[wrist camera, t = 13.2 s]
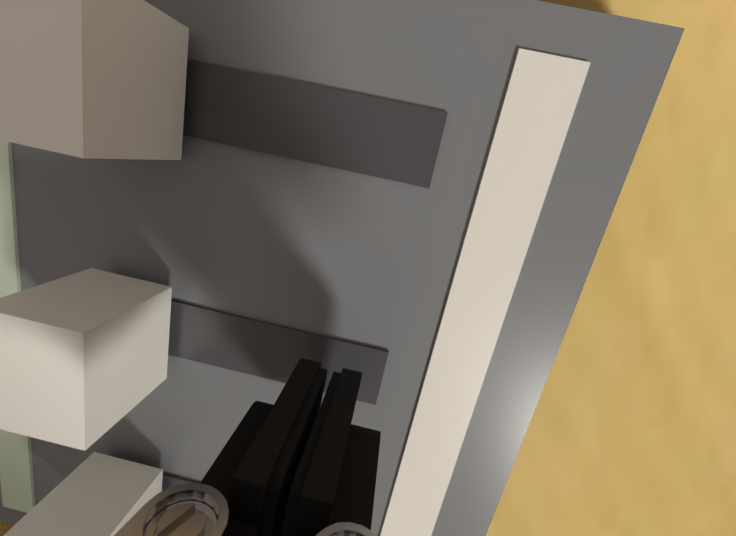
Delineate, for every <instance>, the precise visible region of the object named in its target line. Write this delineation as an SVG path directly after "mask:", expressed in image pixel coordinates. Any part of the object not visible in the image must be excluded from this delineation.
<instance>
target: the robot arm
mask: <svg viewBox="0 0 736 536" xmlns="http://www.w3.org/2000/svg"><path fill="white" fill-rule="evenodd" d="M326 377H327V370H326V369H322V368H321V362H317V361H313V360H309V359H304V358H300V360H299V361H298V363H297V365H296V367H295V368H294V370H293V372H292V374H291V375H290V377H289V379H288V381H287V382H286V384H285V386H284V388H283V389H282V391H281V393H280V395H279V396H278V398H277V400H276V402H275V403H274V405H273V404H269V403H265V402H260V401H255V402H254V403H253V404H252V405H251V407H250V408H249V410H248V411H247V413H246V414H245V416H244V417H243V419H242V420H241V422H240V424H239V425H238V427H237V428H236V430H235V431H234V433H233V434H232V436H231V437H230V439H229V440H228V442H227V443H226V445H225V446H224V448H223V449H222V451H221V452H220V454H219V455H218V457H217V458H216V460H215V461H214V463H213V464H212V466H211V467H210V469H209V470H208V472H207V473H206V475H205V476H204V478H203V479H202V481H201V482H200V483H184V484H180V485H176V486H172V487H170V488H168V489H166V490H164V491H162V492H160V493H158V494H157V495H155V496H154V497H153V498H152V499H150V500H149V501H148V502H147V503H145V504H144V505H143V507H142V508H141V509H140V510H139V511H138V512H137V513H136V514H135V515H134V516H133V517H132V518H131V519H130V520H129V521H128V522H127V523H126V524H125V525H124V526H123V527H122V528H121V529H120V530H119V531H118V532H117V533H116V534H115V535H114V536H377V535H376V534H375V533H374V532H373V531H371V524H372V514H373V505H374V495H375V486H376V476H377V467H378V457H379V447H380V438H381V431H377V430H373V429H369V428H365V427H361V426H357V425H353V424H351V422H352V418H353V413H354V409H355V404H356V400H357V395H358V391H359V387H360V382H361V378H362V372H358V371H354V370H350V369H346V368H343V369H342V372H341V373H338V372H333V374H332V377H331V379H330V382H329V385H328V388H327V390H326V393H325V396H324V398H323V401H322V397H323V392H324V387H325V382H326ZM321 402H322V404H321Z"/></svg>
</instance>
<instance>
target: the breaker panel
mask: <svg viewBox="0 0 736 536" xmlns="http://www.w3.org/2000/svg"><path fill="white" fill-rule="evenodd" d="M683 31H684V28H679V27H674V26H669V25H664V24H659V23H653V22H648V21H643V20H638V19H633V18H627V17H622V16H617V15H612V14H607V13H601V12H596V11H591V10H586V9H581V8H575V7H570V6H565V5H560V4H555V3H550V2H544V1H539V0H0V298H1V297H4V296H7V295H11V294H14V293H17V292H20V291H23V290H26V289H29V288H32V287H35V286H38V285H41V284H44V283H47V282H50V281H53V280H56V279H59V278H62V277H65V276H69V275H72V274H75V273H78V272H81V271H84V270H87V269H90V268H94V269H98V270H102V271H106V272H111V273H115V274H119V275H123V276H128V277H132V278H136V279H141V280H145V281H149V282H153V283H158V284H162V285H166V286H170V287H172V296H171V313H170V331H169V348H168V365H167V378H166V379H165V380H164V381H163V382H162V383H161V384H160V385H159V386H157V387H156V388H155V389H154V390H153V391H152V392H151V393H150V394H148V395H147V396H146V397H145V398H144V399H143V400H142V401H141V402H139V403H138V404H137V405H136V406H135V407H134V408H133V409H132V410H130V411H129V412H128V413H127V414H126V415H125V416H124V417H123V418H121V419H120V420H119V421H118V422H117V423H116V424H115V425H114V426H112V427H111V428H110V429H109V430H108V431H107V432H106V433H105V434H103V435H102V436H101V437H100V438H99V439H98V440H97V441H96V442H94V443H93V444H92V445H91V446H90V447H89V448H88V449H87V450H85V451H84V450H80V449H76V448H72V447H68V446H64V445H60V444H56V443H52V442H48V441H44V440H40V439H37V438H33V437H29V436H25V435H21V434H17V433H13V432H9V431H5V430H1V429H0V522H3V523H7V524H10V525H14V526H13V527H12V528H11V529H10V530H9V531H7V532H6V533H5V534H4V535H3V536H114V535H115V534H116V533H117V532H118V531H119V530H120V529H121V528H122V527H123V526H124V525H125V524H126V523H127V522H128V521H129V520H130V519H131V518H132V517H133V516H134V515H135V514H136V513H137V512H138V511H139V510H140V509H141V508H142V507H143V505H144V504H145V503H147V502H148V501H149V500H150V499H152V498H153V497H154V496H155V495H157V494H158V493H160V492H162V491H164V490H166V489H168V488H170V487H172V486H176V485H180V484H184V483H200V482H201V481H202V479H203V478H204V476H205V475H206V473H207V472H208V470H209V469H210V467H211V466H212V464H213V463H214V461H215V460H216V458H217V457H218V455H219V454H220V452H221V451H222V449H223V448H224V446H225V445H226V443H227V442H228V440H229V439H230V437H231V436H232V434H233V433H234V431H235V430H236V428H237V427H238V425H239V424H240V422H241V420H242V419H243V417H244V416H245V414H246V413H247V411H248V410H249V408H250V407H251V405H252V404H253V403H254V402H255V401H260V402H265V403H269V404H273V405H274V403H275V402H276V400H277V398H278V396H279V395H280V393H281V391H282V389H283V388H284V386H285V384H286V382H287V381H288V379H289V377H290V375H291V374H292V372H293V370H294V368H295V367H296V365H297V363H298V361H299V360H300V358H304V359H309V360H313V361H317V362H321V368H322V369H326V370H327V377H326V382H325V387H324V392H323V397H322V401H323V398H324V396H325V393H326V390H327V388H328V385H329V382H330V379H331V377H332V374H333V372H338V373H341V372H342V369H343V368H346V369H350V370H354V371H358V372H362V378H361V382H360V387H359V391H358V395H357V400H356V404H355V409H354V413H353V418H352V422H351V424H353V425H357V426H361V427H365V428H369V429H373V430H377V431H381V438H380V447H379V457H378V467H377V476H376V486H375V495H374V505H373V514H372V524H371V531H373V532H374V533H375V534H376V535H377V536H486V533H487V531H488V528H489V526H490V523H491V520H492V518H493V515H494V513H495V510H496V508H497V505H498V503H499V500H500V498H501V495H502V492H503V490H504V487H505V485H506V482H507V480H508V477H509V475H510V472H511V469H512V467H513V464H514V462H515V459H516V457H517V454H518V452H519V449H520V447H521V444H522V441H523V439H524V436H525V434H526V431H527V429H528V426H529V424H530V421H531V419H532V416H533V413H534V411H535V408H536V406H537V403H538V401H539V398H540V396H541V393H542V391H543V388H544V385H545V383H546V380H547V378H548V375H549V373H550V370H551V368H552V365H553V362H554V360H555V357H556V355H557V352H558V350H559V347H560V345H561V342H562V340H563V337H564V334H565V332H566V329H567V327H568V324H569V322H570V319H571V317H572V314H573V312H574V309H575V306H576V304H577V301H578V299H579V296H580V294H581V291H582V289H583V286H584V283H585V281H586V278H587V276H588V273H589V271H590V268H591V266H592V263H593V261H594V258H595V255H596V253H597V250H598V248H599V245H600V243H601V240H602V238H603V235H604V233H605V230H606V227H607V225H608V222H609V220H610V217H611V215H612V212H613V210H614V207H615V204H616V202H617V199H618V197H619V194H620V192H621V189H622V187H623V184H624V182H625V179H626V176H627V174H628V171H629V169H630V166H631V164H632V161H633V159H634V156H635V154H636V151H637V148H638V146H639V143H640V141H641V138H642V136H643V133H644V131H645V128H646V125H647V123H648V120H649V118H650V115H651V113H652V110H653V108H654V105H655V103H656V100H657V97H658V95H659V92H660V90H661V87H662V85H663V82H664V80H665V77H666V75H667V72H668V69H669V67H670V64H671V62H672V59H673V57H674V54H675V52H676V49H677V46H678V44H679V41H680V39H681V36H682V34H683ZM321 404H322V402H321Z"/></svg>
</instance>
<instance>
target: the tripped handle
mask: <svg viewBox="0 0 736 536" xmlns="http://www.w3.org/2000/svg"><path fill="white" fill-rule="evenodd" d="M171 296H172V287H170V286H166V285H162V284H158V283H153V282H149V281H145V280H141V279H136V278H132V277H128V276H123V275H119V274H115V273H111V272H106V271H102V270H98V269H94V268H90V269H87V270H84V271H81V272H78V273H75V274H72V275H69V276H65V277H62V278H59V279H56V280H53V281H50V282H47V283H44V284H41V285H38V286H35V287H32V288H29V289H26V290H23V291H20V292H17V293H14V294H11V295H7V296H4V297H1V298H0V429H1V430H5V431H9V432H13V433H17V434H21V435H25V436H29V437H33V438H37V439H40V440H44V441H48V442H52V443H56V444H60V445H64V446H68V447H72V448H76V449H80V450H84V451H85V450H87V449H88V448H89V447H90V446H91V445H92V444H93V443H94V442H96V441H97V440H98V439H99V438H100V437H101V436H102V435H103V434H105V433H106V432H107V431H108V430H109V429H110V428H111V427H112V426H114V425H115V424H116V423H117V422H118V421H119V420H120V419H121V418H123V417H124V416H125V415H126V414H127V413H128V412H129V411H130V410H132V409H133V408H134V407H135V406H136V405H137V404H138V403H139V402H141V401H142V400H143V399H144V398H145V397H146V396H147V395H148V394H150V393H151V392H152V391H153V390H154V389H155V388H156V387H157V386H159V385H160V384H161V383H162V382H163V381H164V380H165V379H166V378H167V365H168V348H169V331H170V313H171Z"/></svg>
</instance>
